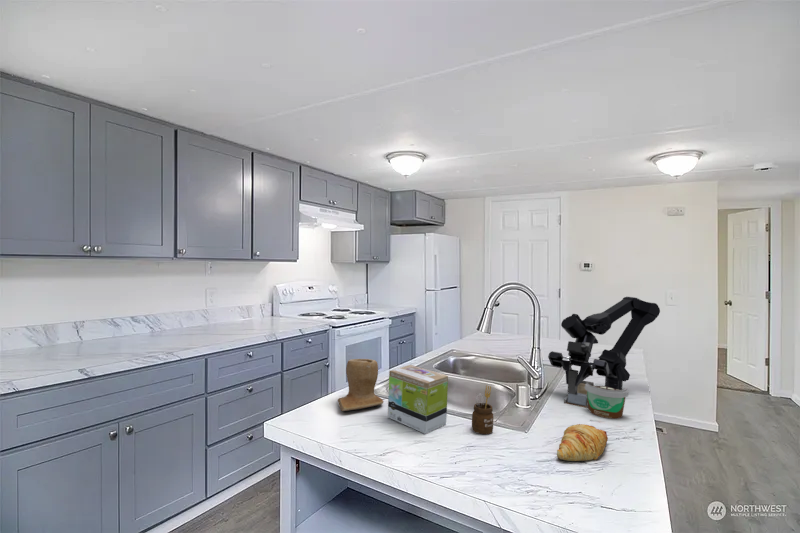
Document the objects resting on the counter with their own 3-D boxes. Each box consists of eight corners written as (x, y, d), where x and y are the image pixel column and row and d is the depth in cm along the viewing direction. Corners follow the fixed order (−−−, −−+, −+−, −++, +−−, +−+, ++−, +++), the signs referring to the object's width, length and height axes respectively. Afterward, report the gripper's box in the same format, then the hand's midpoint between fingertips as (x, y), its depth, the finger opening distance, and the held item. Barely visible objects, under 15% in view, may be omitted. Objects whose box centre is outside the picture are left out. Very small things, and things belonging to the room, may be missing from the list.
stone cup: (371, 396, 139) (372, 353, 139) (387, 408, 129) (389, 361, 129) (329, 403, 132) (330, 357, 131) (343, 416, 121) (344, 366, 121)
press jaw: (568, 399, 137) (569, 369, 137) (587, 403, 134) (588, 372, 134) (567, 402, 135) (568, 370, 135) (585, 406, 132) (587, 374, 132)
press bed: (571, 393, 149) (572, 378, 148) (595, 398, 144) (596, 382, 144) (563, 406, 135) (564, 389, 135) (589, 412, 131) (589, 394, 131)
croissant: (569, 482, 96) (585, 459, 92) (536, 447, 103) (551, 425, 99) (612, 455, 108) (628, 435, 105) (581, 426, 115) (595, 406, 112)
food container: (582, 418, 125) (583, 386, 125) (583, 411, 131) (584, 381, 131) (627, 427, 120) (629, 393, 119) (627, 420, 125) (628, 388, 125)
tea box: (386, 419, 121) (387, 369, 120) (408, 410, 128) (410, 363, 128) (425, 435, 110) (427, 381, 110) (447, 424, 118) (449, 374, 117)
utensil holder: (467, 431, 114) (469, 388, 114) (478, 423, 119) (479, 383, 119) (487, 437, 110) (488, 393, 110) (496, 429, 115) (498, 387, 115)
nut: (576, 393, 145) (576, 382, 145) (588, 395, 143) (589, 384, 143) (574, 396, 142) (574, 385, 142) (586, 399, 140) (587, 387, 140)
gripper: (551, 328, 144) (537, 365, 136) (608, 336, 132) (597, 377, 124) (558, 347, 150) (545, 383, 142) (613, 356, 138) (603, 396, 130)
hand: (571, 384), depth 134 cm, fingers closed on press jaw, 2 cm apart
